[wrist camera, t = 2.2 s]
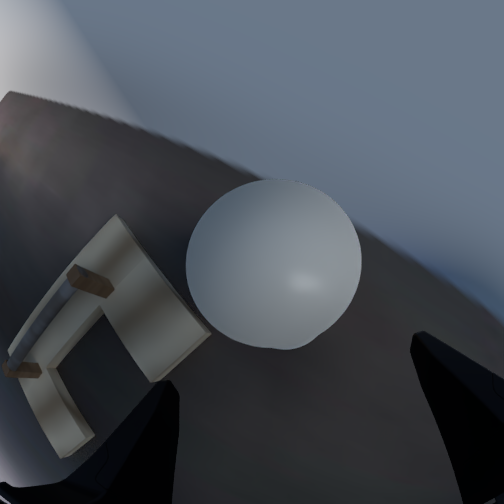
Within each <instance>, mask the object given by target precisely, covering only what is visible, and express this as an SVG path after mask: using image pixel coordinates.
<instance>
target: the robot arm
mask: <svg viewBox="0 0 504 504" xmlns="http://www.w3.org/2000/svg"><path fill="white" fill-rule="evenodd" d="M410 353H411V357H412V360H413V363H414V366H415V369H416V372H417V375H418V378H419V381H420V384H421V387H422V389H423V392H424V394H425V397H426V399H427V401H428V403H429V406H430V408H431V411H432V413H433V415H434V418H435V420H436V423H437V425H438V428H439V430H440V433H441V436H442V438H443V441H444V444H445V446H446V449H447V452H448V455H449V458H450V461H451V464H452V467H453V470H454V473H455V477H456V480H457V483H458V486H459V490H460V493H461V497H462V501H463V504H484V503H486V502H488V501H490V500H491V499H493V498H495V500H496V502H495V503H493V504H504V379H503V378H501V377H500V376H498V375H497V374H495V373H492V372H491V371H490V370H488V369H487V368H485V367H483V366H482V365H480V364H479V363H477V362H475V361H474V360H472V359H470V358H469V357H467V356H465V355H464V354H462V353H460V352H459V351H457V350H456V349H454V348H452V347H451V346H449V345H447V344H446V343H444V342H442V341H441V340H439V339H437V338H436V337H434V336H432V335H430V334H429V333H427V332H425V331H420V332H417V333H415V334H414V335H413V338H412V343H411V347H410ZM179 400H180V397H179V393H178V391H177V390H176V388H175V387H174V385H173V384H172V382H171V381H170V380H159V381H158V382H157V383H156V384H155V386H154V387H153V388H152V389H151V390H150V391H149V392H148V394H147V395H146V396H145V397H144V398H143V399H142V400H141V402H140V403H139V404H138V405H137V406H136V407H135V408H134V409H133V411H132V412H131V413H130V414H129V415H128V416H127V417H126V419H125V420H124V421H123V422H122V423H121V424H120V425H119V426H118V428H117V429H116V430H115V431H114V432H113V433H112V434H111V435H110V436H109V438H108V439H107V440H106V441H105V442H104V443H103V444H102V445H101V446H100V448H99V449H98V450H97V451H96V452H95V453H94V454H93V455H92V456H91V457H90V458H89V459H88V460H87V461H85V462H84V463H83V464H82V465H81V466H80V467H79V468H78V469H76V470H75V471H74V472H73V473H72V474H71V475H70V476H68V477H67V478H66V479H64V480H63V481H60V482H58V483H53V484H47V485H40V486H31V487H20V488H18V487H12V486H11V485H9V484H8V483H6V482H0V495H1V496H2V497H3V498H5V499H6V500H7V501H8V502H10V503H11V504H172V493H173V482H174V472H175V463H176V454H177V445H178V437H179ZM0 504H7V503H5V502H4V501H2V500H0Z"/></svg>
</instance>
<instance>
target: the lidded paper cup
mask: <svg viewBox="0 0 504 504" xmlns="http://www.w3.org/2000/svg"><path fill="white" fill-rule="evenodd" d="M360 273H361V250H360V244H359V240H358V236H357V234H356V231H355V229H354V226H353V224H352V223H351V221H350V219H349V218H348V216H347V215H346V213H345V212H344V211H343V209H342V208H341V207H340V206H339V205H338V204H337V203H336V202H335V201H334V200H333V199H331V198H330V197H329V196H327V195H326V194H325V193H323V192H321V191H319V190H318V189H316V188H314V187H311V186H309V185H307V184H304V183H300V182H297V181H291V180H284V179H268V180H261V181H255V182H252V183H248V184H245V185H242V186H240V187H238V188H235V189H234V190H232V191H230V192H228V193H227V194H225V195H224V196H222V197H221V198H220V199H218V200H217V201H216V202H215V203H214V204H213V205H212V206H210V207H209V209H208V210H207V211H206V212H205V213H204V214H203V216H202V217H201V219H200V220H199V222H198V223H197V225H196V227H195V229H194V231H193V233H192V236H191V239H190V241H189V245H188V250H187V255H186V276H187V282H188V286H189V290H190V293H191V296H192V298H193V300H194V302H195V304H196V306H197V307H198V309H199V310H200V312H201V313H202V315H203V316H204V317H205V318H206V319H207V321H208V322H209V323H210V324H211V325H212V326H214V327H215V328H216V329H217V330H218V331H220V332H221V333H223V334H224V335H226V336H228V337H229V338H231V339H234V340H236V341H238V342H240V343H244V344H247V345H251V346H256V347H263V348H275V349H282V350H288V349H295V348H298V347H301V346H304V345H306V344H307V343H309V342H311V341H312V340H313V339H314V338H316V337H317V336H318V335H319V334H321V333H322V332H324V331H325V330H327V329H328V328H329V327H330V326H331V325H333V324H334V323H335V322H336V321H337V320H338V319H339V317H340V316H341V315H342V314H343V313H344V311H345V310H346V309H347V307H348V306H349V304H350V302H351V300H352V298H353V296H354V294H355V292H356V289H357V286H358V283H359V279H360Z"/></svg>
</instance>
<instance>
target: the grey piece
mask: <svg viewBox="0 0 504 504" xmlns="http://www.w3.org/2000/svg"><path fill="white" fill-rule="evenodd" d="M104 313H105V315H106V317H107V319H108V320H109V322H110V324H111V325H112V327H113V328H114V330H115V332H116V333H117V335H118V336H119V338H120V340H121V341H122V343H123V344H124V346H125V347H126V349H127V350H128V352H129V353H130V355H131V356H132V358H133V359H134V360H135V362H136V363H137V365H138V366H139V368H140V369H141V370H142V372H143V373H144V375H145V376H146V377H147V379H148V380H149V381H150V383H151V382H156V381H159V380H161V379H162V378H163V377H164V376H166V375H167V374H168V373H169V372H170V371H171V370H172V369H173V368H175V367H176V366H177V365H178V364H179V363H180V362H181V361H182V360H184V359H185V358H186V357H187V356H188V355H189V354H190V353H191V352H192V351H194V350H195V349H196V348H197V347H198V346H199V345H200V344H201V343H202V342H203V341H205V340H206V339H207V338H208V337H209V336H210V335H211V334H212V333H211V332H210V331H209V330H208V328H207V327H206V326H205V325H204V324H203V323H202V321H201V320H200V319H199V318H198V317H197V315H196V314H195V313H194V312H193V311H192V310H191V308H190V307H189V306H188V305H187V303H186V302H185V301H184V300H183V299H182V297H181V296H180V295H179V294H178V292H177V291H176V290H175V289H174V287H173V286H172V285H171V284H170V282H169V281H168V280H167V279H166V277H165V276H164V275H163V273H162V272H161V271H160V269H159V268H158V267H157V266H156V264H155V263H154V262H153V260H152V259H151V258H150V256H149V255H148V254H147V252H146V251H145V249H144V248H143V247H142V245H141V244H140V243H139V241H138V240H137V238H136V237H135V236H134V234H133V233H132V231H131V230H130V229H129V227H128V226H127V224H126V223H125V221H124V220H123V219H121V218H120V217H119V216H118V215H116V214H115V215H114V216H113V217H112V218H111V219H110V220H109V221H108V222H107V223H106V224H105V225H104V226H103V227H102V228H101V230H100V231H99V232H98V233H97V234H96V235H95V236H94V237H93V238H92V239H91V240H90V241H89V243H88V244H87V245H86V246H85V247H84V248H83V249H82V250H81V252H80V253H79V254H78V255H77V256H76V257H75V259H74V260H73V261H72V262H71V263H70V264H69V266H68V267H67V268H66V269H65V270H64V272H63V273H62V274H61V275H60V277H59V278H58V279H57V280H56V282H55V283H54V284H53V285H52V287H51V288H50V289H49V291H48V292H47V293H46V295H45V296H44V297H43V299H42V300H41V301H40V303H39V304H38V305H37V307H36V308H35V310H34V311H33V312H32V314H31V315H30V317H29V318H28V319H27V321H26V322H25V324H24V325H23V327H22V328H21V330H20V331H19V333H18V334H17V336H16V338H15V339H14V341H13V342H12V344H11V346H10V347H9V349H8V352H9V355H10V358H9V359H8V360H5V361H4V363H3V365H2V369H3V371H4V374H5V377H13V378H18V379H19V381H20V384H21V386H22V389H23V391H24V393H25V395H26V397H27V400H28V402H29V404H30V406H31V408H32V410H33V412H34V414H35V416H36V418H37V420H38V422H39V424H40V425H41V427H42V429H43V431H44V433H45V434H46V436H47V438H48V440H49V441H50V443H51V445H52V446H53V448H54V449H55V451H56V453H57V454H58V456H59V457H60V459H61V458H65V457H68V456H70V455H72V454H73V453H74V452H75V451H77V450H78V449H79V448H80V447H82V446H83V445H84V444H85V443H87V442H88V441H89V440H90V439H91V438H93V437H94V436H95V434H94V433H93V431H92V430H91V428H90V427H89V425H88V424H87V422H86V421H85V419H84V417H83V416H82V414H81V413H80V411H79V409H78V408H77V406H76V404H75V403H74V401H73V399H72V397H71V396H70V394H69V392H68V390H67V389H66V387H65V385H64V383H63V381H62V379H61V377H60V375H59V373H58V371H57V369H56V367H57V366H58V365H59V364H60V362H61V361H62V360H63V359H64V358H65V356H66V355H67V354H68V353H69V352H70V351H71V350H72V348H73V347H74V346H75V345H76V344H77V343H78V342H79V340H80V339H81V338H82V337H83V336H84V335H85V334H86V333H87V331H88V330H89V329H90V328H91V327H92V326H93V325H94V324H95V323H96V322H97V320H98V319H99V318H100V317H101V316H102V315H103V314H104Z"/></svg>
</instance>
